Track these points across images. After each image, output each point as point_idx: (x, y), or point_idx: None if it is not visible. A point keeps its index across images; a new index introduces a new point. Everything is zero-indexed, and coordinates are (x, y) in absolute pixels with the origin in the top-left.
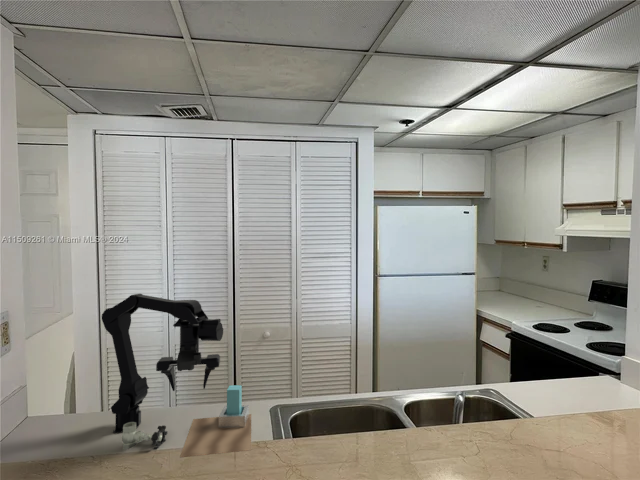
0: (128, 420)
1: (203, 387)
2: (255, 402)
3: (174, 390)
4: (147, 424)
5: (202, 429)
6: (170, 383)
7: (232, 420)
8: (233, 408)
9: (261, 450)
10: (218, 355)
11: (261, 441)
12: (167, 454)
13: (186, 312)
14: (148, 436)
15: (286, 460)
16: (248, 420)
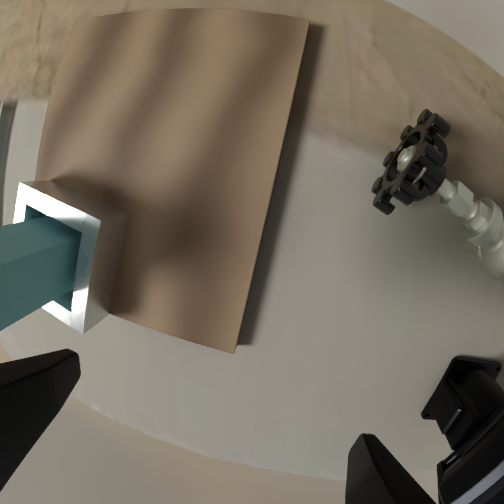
0: (483, 386)
1: (68, 356)
2: None
3: (359, 438)
4: (405, 396)
5: (197, 227)
6: (420, 489)
7: (64, 195)
8: (31, 233)
9: (56, 44)
10: None
11: (39, 94)
12: (360, 99)
13: None
14: (458, 182)
15: (38, 3)
16: None
